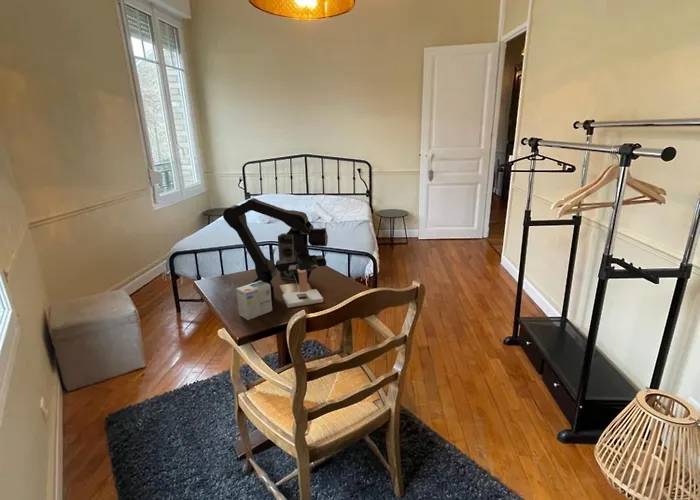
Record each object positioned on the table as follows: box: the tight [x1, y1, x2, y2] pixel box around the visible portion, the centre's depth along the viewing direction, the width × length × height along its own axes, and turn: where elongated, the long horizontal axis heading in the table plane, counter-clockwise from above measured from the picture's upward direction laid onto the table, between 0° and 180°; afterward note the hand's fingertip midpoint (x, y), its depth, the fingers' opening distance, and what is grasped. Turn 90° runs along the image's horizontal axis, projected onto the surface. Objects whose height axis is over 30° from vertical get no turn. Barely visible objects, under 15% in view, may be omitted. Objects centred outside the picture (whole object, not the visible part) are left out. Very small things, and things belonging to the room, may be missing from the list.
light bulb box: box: [235, 280, 273, 321], centre depth 140 cm, size 11×7×11 cm, turn 136°
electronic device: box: [277, 232, 299, 281], centre depth 173 cm, size 9×6×20 cm, turn 73°
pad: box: [279, 282, 314, 295], centre depth 163 cm, size 12×10×1 cm
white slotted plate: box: [282, 288, 324, 308], centre depth 152 cm, size 14×10×2 cm
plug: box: [297, 269, 308, 292], centre depth 150 cm, size 3×4×8 cm
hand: (302, 283), depth 150 cm, fingers closed on plug, 3 cm apart
